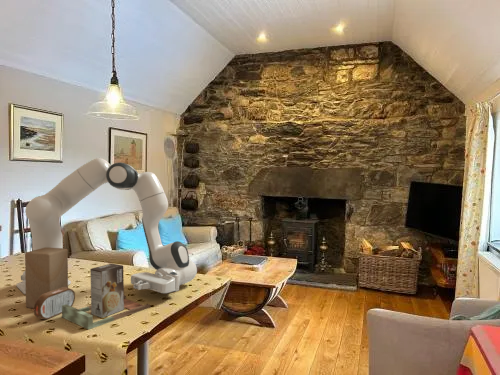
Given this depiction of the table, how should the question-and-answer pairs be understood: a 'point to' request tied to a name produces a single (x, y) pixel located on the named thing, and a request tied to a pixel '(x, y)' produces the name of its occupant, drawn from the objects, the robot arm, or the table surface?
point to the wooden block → (45, 272)
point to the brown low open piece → (87, 320)
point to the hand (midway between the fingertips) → (135, 287)
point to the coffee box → (107, 290)
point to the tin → (53, 302)
